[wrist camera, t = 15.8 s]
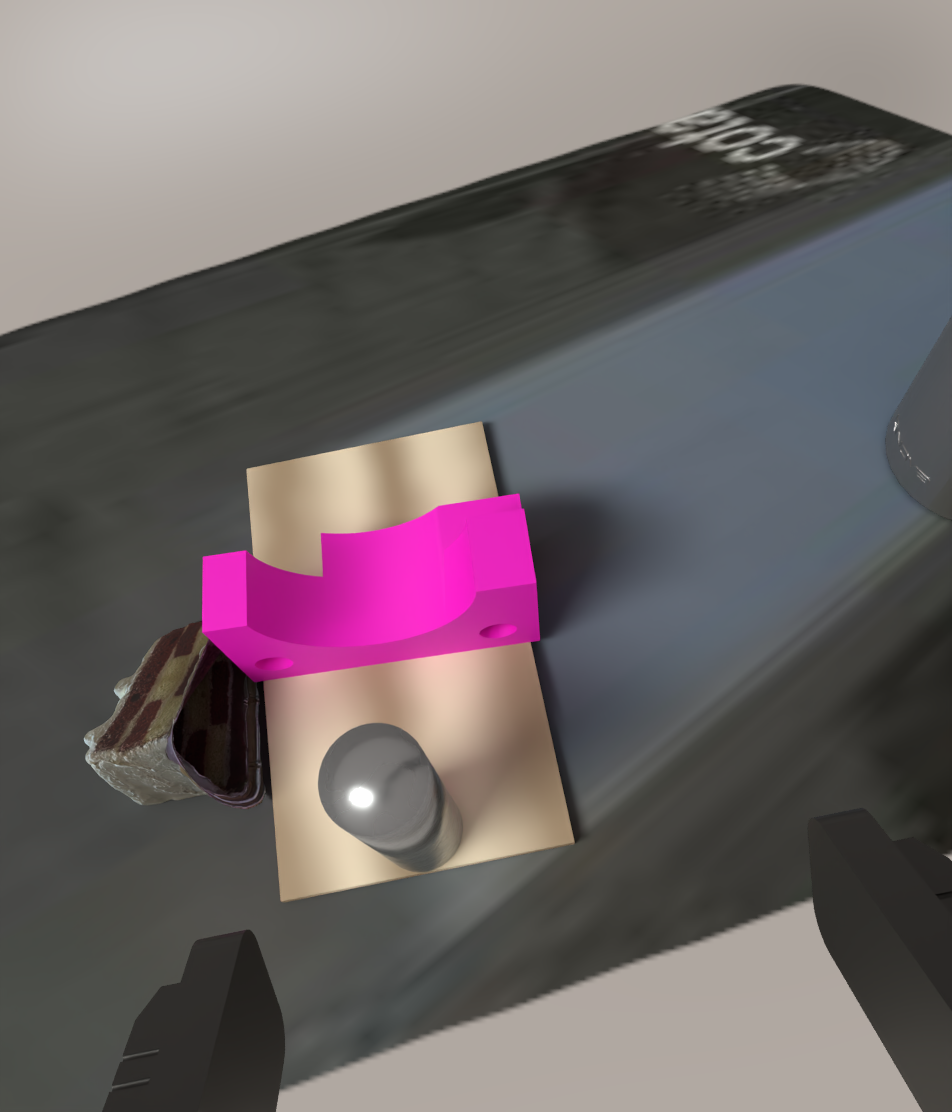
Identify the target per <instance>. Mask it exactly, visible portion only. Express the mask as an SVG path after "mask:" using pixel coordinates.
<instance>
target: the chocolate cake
mask: <svg viewBox="0 0 952 1112" xmlns="http://www.w3.org/2000/svg"><path fill="white" fill-rule="evenodd" d="M114 692H115V693H116V695H117V696H118V697H119V698H120V700H119V702H118V704H117V707H116V709H115V712H114V714H113V715H112V717H111V718H110V719H109V720H108V721H106V722H105V723H104V724H102V725H101V726H99V727H97V728H95V729H93V730H91V731H90V732H89V733H87V734H86V736H85V738H84V741H85V743H86V744H87V745H88V746H89V747H90V749H89V751H88V752H87V754H86V761H87V762H88V763H89V764H90V765H91V766H92V767H93V769H94V770H95V771H96V772H97V774H98V775H99V776H101V777H102V778H103V779H104V780H105V781H107V782H108V784H110V785H111V786H112V787H113V788H115V789H117V790H119V791H121V792H122V793H124V794H126V795H127V796H129V797H130V798H131V799H132V800H133V801H135V802H136V803H138V804H140V805H153V804H160V803H163V802H165V801H168V800H172V799H173V800H182V799H185V798H191V797H195V796H201V795H209V796H211V797H212V798H214V799H215V800H217V801H218V802H220V803H222V804H224V805H227V806H228V805H229V806H230V807H231V806H232V807H235V808H244V809H249V808H251V807H254V806H255V805H256V806H257V805H258V804H260V803H262V799H263V797H264V794H265V793H266V788H265V785H264V782H263V776H262V761H261V751H260V726H259V723H258V719H259V718H258V713H259V694H258V690H257V682H254V681H252V680H251V679H250V678H249V677H248V676H247V675H246V674H245V673H244V672H243V671H242V670H241V669H240V668H239V667H238V666H237V665H236V664H235V663H234V662H233V661H232V660H231V659H230V658H228V657H227V656H226V655H225V654H224V653H223V652H222V651H221V650H220V649H219V648H218V647H217V646H216V645H215V644H214V643H213V642H212V641H211V640H210V639H209V638H208V637H207V636H205V635H204V634H203V633H202V621H200V622H197V623H190V624H189V625H188V626H186V627H184V628H180V629H176V630H173V631H172V632H170V633H168V634H167V635H165V636H163V637H161V638H159V639H158V640H156V641H155V643H154V644H153V645H152V647H151V648H150V649H149V651H148V652H147V654H146V655H145V657H144V658H143V661H142V664H141V665H140V667H139V668H138V669H137V671H136V673H135V674H134V675H133V676H131V677H127V678H124V679H122V680H120V681H119V682H118V684H117V685H116V687H115V690H114Z"/></svg>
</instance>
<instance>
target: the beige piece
mask: <svg viewBox="0 0 952 1112" xmlns="http://www.w3.org/2000/svg"><path fill="white" fill-rule="evenodd" d="M247 481H248V493H249V506H250V519H251V531H252V544H253V556H254V557H255V558H257V559H258V560H260V561H262V562H264V563H266V564H268V565H271V566H273V567H276V568H279V569H282V570H285V571H289V572H293V573H298V574H304V575H311V576H321V577H323V568H322V549H321V533H360V532H368V531H375V530H380V529H385V528H389V527H393V526H397V525H400V524H403V523H406V522H409V521H411V520H414V519H416V518H418V517H421V516H423V515H425V514H426V513H428V512H430V511H432V510H433V509H435V508H436V507H438V506H440V505H446V504H453V503H460V502H466V501H473V500H480V499H486V498H493V497H498V493H497V488H496V483H495V479H494V474H493V470H492V465H491V461H490V456H489V452H488V447H487V443H486V438H485V434H484V429H483V424H482V421H481V422H476V423H472V424H467V425H462V426H457V427H452V428H447V429H442V430H437V431H432V432H427V433H422V434H417V435H412V436H407V437H402V438H397V439H392V440H387V441H382V442H377V443H373V444H368V445H363V446H358V447H353V448H348V449H343V450H338V451H333V452H328V453H323V454H318V455H313V456H308V457H303V458H298V459H293V460H288V461H283V462H278V463H274V464H269V465H264V466H259V467H254V468H249V469H247ZM263 683H264V695H265V708H266V721H267V733H268V746H269V758H270V771H271V784H272V796H273V809H274V821H275V834H276V847H277V859H278V872H279V885H280V897H281V902H289V901H294V900H299V899H304V898H309V897H314V896H319V895H323V894H328V893H333V892H338V891H343V890H348V889H353V888H358V887H363V886H368V885H373V884H378V883H383V882H388V881H393V880H398V879H403V878H408V877H413V876H418V875H423V874H428V873H433V872H438V871H443V870H448V869H453V868H458V867H463V866H468V865H472V864H477V863H482V862H487V861H492V860H497V859H502V858H507V857H512V856H517V855H522V854H527V853H532V852H537V851H542V850H547V849H552V848H557V847H562V846H567V845H572V844H575V842H574V837H573V833H572V828H571V823H570V819H569V814H568V810H567V805H566V801H565V796H564V792H563V787H562V783H561V778H560V774H559V769H558V765H557V760H556V755H555V751H554V746H553V742H552V737H551V733H550V728H549V724H548V719H547V715H546V710H545V706H544V701H543V697H542V692H541V687H540V683H539V678H538V674H537V669H536V665H535V660H534V656H533V651H532V647H531V642H526V643H520V644H513V645H506V646H499V647H492V648H485V649H479V650H472V651H465V652H458V653H451V654H444V655H438V656H431V657H424V658H417V659H410V660H403V661H397V662H390V663H383V664H376V665H369V666H362V667H356V668H349V669H342V670H335V671H328V672H321V673H315V674H308V675H301V676H294V677H287V678H280V679H274V680H267V681H263Z"/></svg>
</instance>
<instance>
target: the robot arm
mask: <svg viewBox="0 0 952 1112" xmlns="http://www.w3.org/2000/svg"><path fill="white" fill-rule="evenodd" d="M885 442H886V455H887V458H888V461H889V464H890V467H891V470H892V471H893V473H894V475H895V476H896V478H897V480H898V482H899V483H900V484H901V486H902V487H903V488H904V489H905V490H906V491H907V492H908V493H909V494H910V496H911V497H913V498H914V499H915V500H916V501H918V502H919V503H920V504H922V505H923V506H924V507H926V508H927V509H929V510H931V511H933V512H935V513H936V514H938V515H940V516H942V517H944V518H947V519H950V520H952V316H951V318H950V320H949V321H948V323H947V325H946V326H945V328H944V330H943V332H942V333H941V335H940V337H939V338H938V340H937V342H936V343H935V345H934V347H933V348H932V350H931V352H930V354H929V355H928V357H927V359H926V360H925V362H924V364H923V365H922V367H921V369H920V370H919V372H918V374H917V375H916V377H915V379H914V380H913V382H912V384H911V385H910V387H909V389H908V391H907V392H906V394H905V396H904V397H903V399H902V401H901V402H900V404H899V406H898V408H897V409H896V411H895V413H894V415H893V417H892V419H891V421H890V422H889V424H888V428H887V433H886V438H885ZM808 841H809V854H810V866H811V879H812V892H813V904H814V910H815V915H816V919H817V923H818V926H819V929H820V932H821V935H822V938H823V940H824V943H825V945H826V947H827V949H828V951H829V953H830V955H831V956H832V958H833V960H834V961H835V963H836V965H837V966H838V968H839V970H840V971H841V973H842V975H843V977H844V978H845V980H846V982H847V984H848V985H849V987H850V988H851V990H852V992H853V994H854V995H855V997H856V999H857V1000H858V1002H859V1004H860V1006H861V1007H862V1009H863V1011H864V1012H865V1014H866V1016H867V1018H868V1019H869V1021H870V1022H871V1024H872V1026H873V1028H874V1029H875V1031H876V1033H877V1034H878V1036H879V1038H880V1040H881V1041H882V1043H883V1045H884V1046H885V1048H886V1050H887V1051H888V1053H889V1055H890V1056H891V1058H892V1060H893V1061H894V1063H895V1065H896V1067H897V1068H898V1070H899V1072H900V1074H901V1075H902V1077H903V1079H904V1080H905V1082H906V1084H907V1085H908V1087H909V1089H910V1091H911V1092H912V1094H913V1096H914V1097H915V1099H916V1101H917V1103H918V1104H919V1106H920V1108H921V1109H922V1111H923V1112H952V861H951V860H950V859H949V858H947V857H946V856H944V855H942V854H941V853H939V852H937V851H936V850H934V849H932V848H931V847H929V846H927V845H926V844H924V843H922V842H920V841H919V840H917V839H915V838H914V837H912V838H907V839H902V840H897V841H892V840H891V839H890V838H889V836H888V835H887V834H886V833H885V831H884V830H883V829H882V828H881V826H880V825H879V824H878V823H877V821H876V820H875V819H874V818H873V816H872V815H871V814H870V813H869V812H868V811H867V810H866V809H863V808H859V809H854V810H849V811H844V812H839V813H834V814H829V815H824V816H819V817H814V818H811V819H810V820H809V822H808ZM284 1057H285V1033H284V1024H283V1018H282V1013H281V1010H280V1006H279V1004H278V1001H277V998H276V995H275V992H274V989H273V986H272V983H271V980H270V977H269V974H268V972H267V969H266V966H265V963H264V960H263V957H262V954H261V951H260V948H259V945H258V942H257V940H256V937H255V935H254V934H253V932H252V931H250V930H244V931H239V932H234V933H229V934H224V935H219V936H214V937H209V938H204V939H199V940H197V941H196V942H195V943H194V944H193V946H192V949H191V952H190V955H189V958H188V961H187V964H186V967H185V970H184V974H183V977H182V980H181V983H177V984H172V985H167V986H162V987H161V988H160V989H159V990H158V991H157V993H156V994H155V995H154V997H153V998H152V999H151V1001H150V1002H149V1003H148V1004H147V1006H146V1007H145V1008H144V1010H143V1011H142V1012H141V1014H140V1015H139V1016H138V1017H137V1019H136V1020H135V1023H134V1026H133V1028H132V1031H131V1034H130V1037H129V1039H128V1042H127V1045H126V1048H125V1050H124V1053H123V1062H120V1064H119V1067H118V1070H117V1072H116V1075H115V1078H114V1081H113V1084H112V1087H113V1090H112V1092H109V1095H108V1097H107V1100H106V1103H105V1106H104V1108H103V1111H102V1112H276V1107H277V1101H278V1095H279V1089H280V1083H281V1076H282V1070H283V1064H284Z"/></svg>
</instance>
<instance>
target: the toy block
mask: <svg viewBox="0 0 952 1112" xmlns="http://www.w3.org/2000/svg"><path fill="white" fill-rule="evenodd" d="M321 549H322V568H323V577H321V576H311V575H304V574H298V573H293V572H289V571H285V570H282V569H279V568H276V567H273V566H271V565H268V564H266V563H264V562H262V561H260V560H258V559H257V558H255V557H253V556H252V555H251V554H250V553H248V552H247V551H239V552H233V553H226V554H219V555H213V556H206V557H203V604H202V633H203V634H204V635H205V636H207V637H208V638H209V639H210V640H211V641H212V642H213V643H214V644H215V645H216V646H217V647H218V648H219V649H220V650H221V651H222V652H223V653H224V654H225V655H226V656H227V657H228V658H230V659H231V660H232V661H233V662H234V663H235V664H236V665H237V666H238V667H239V668H240V669H241V670H242V671H243V672H244V673H245V674H246V675H247V676H248V677H249V678H250V679H251V680H252V681H254V682H261V681H267V680H274V679H280V678H287V677H294V676H301V675H308V674H315V673H321V672H328V671H335V670H342V669H349V668H356V667H362V666H369V665H376V664H383V663H390V662H397V661H403V660H410V659H417V658H424V657H431V656H438V655H444V654H451V653H458V652H465V651H472V650H479V649H485V648H492V647H499V646H506V645H513V644H520V643H526V642H534V641H540V631H539V616H538V600H537V585H536V578H535V572H534V566H533V560H532V554H531V548H530V542H529V536H528V530H527V524H526V518H525V512H524V509H522V508H521V502H520V496H519V494H513V495H506V496H500V497H493V498H486V499H480V500H473V501H466V502H460V503H453V504H446V505H440V506H438V507H436V508H435V509H433V510H432V511H430V512H428V513H426V514H425V515H423V516H421V517H418V518H416V519H414V520H411V521H409V522H406V523H403V524H400V525H397V526H393V527H389V528H385V529H380V530H375V531H368V532H360V533H321Z"/></svg>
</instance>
